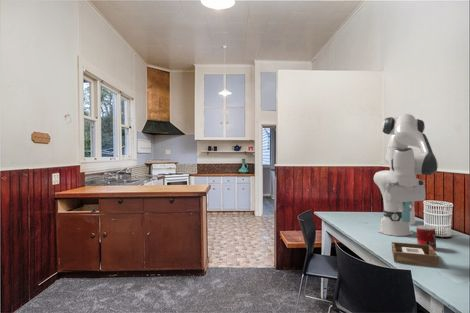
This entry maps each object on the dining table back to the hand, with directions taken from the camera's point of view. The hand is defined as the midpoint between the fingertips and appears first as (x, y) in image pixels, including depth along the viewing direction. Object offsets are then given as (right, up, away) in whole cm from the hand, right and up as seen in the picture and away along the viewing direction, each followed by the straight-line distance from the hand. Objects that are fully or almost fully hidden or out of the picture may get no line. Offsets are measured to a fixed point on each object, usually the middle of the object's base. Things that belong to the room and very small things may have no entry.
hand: (405, 211), depth 125 cm
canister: (+39, -22, +66) cm, 80 cm away
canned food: (+18, -22, +11) cm, 30 cm away
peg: (0, -5, 0) cm, 5 cm away
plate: (+2, -21, -2) cm, 21 cm away
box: (+2, -22, -2) cm, 22 cm away
